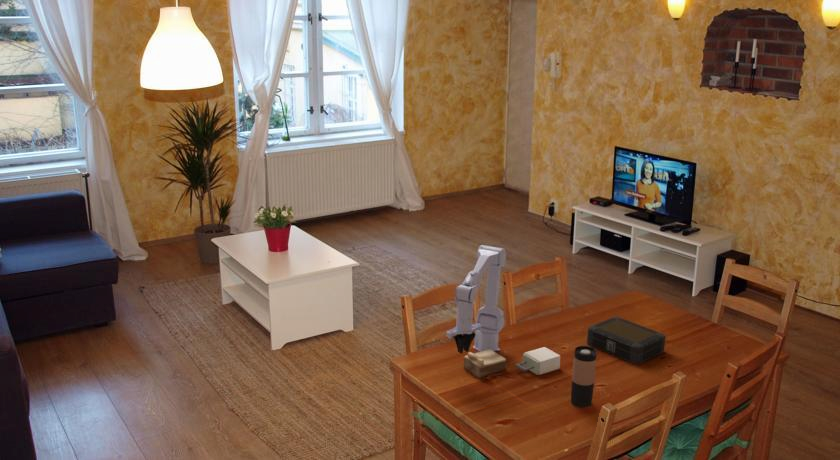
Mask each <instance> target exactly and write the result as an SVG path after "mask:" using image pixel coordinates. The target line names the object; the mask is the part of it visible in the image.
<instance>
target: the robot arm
mask: <svg viewBox="0 0 840 460" xmlns="http://www.w3.org/2000/svg"><path fill="white" fill-rule="evenodd" d="M476 255H477V256H476V258H477V261H476V263H475V266H474V268H473V270H470V271H469V272H468V273H467V275H466V276H465V279H464V280H463V282H462V283H461V284H460V285H457V286H456V288H455V290H454V299H455V305H456V321H455V322H456V326H455V327H453V328H451V329H450V330H447V331H446V332H445V336H446V337H447V338H448V339H452V337H453V340H454V342H455V345H456V348H457V352H458V353H460V354H463V353H464V352H467V353H469V352H470V351H469V350H470V347H471V346H472V342H473V340H474V345H473V346H472V348H473V349H475V350H477V352H481V351H485V350H488V349H490V350H492V351H494V352H496V351H497V352H498V351H500V350H501V349H500V348H499V333H500V332H501V331H502V330H503V328H504V324H505V318H504V311H502V310H501V308H499V306H498V302H499V291H500V279H501V271H502V268H505V266H506V263H507V251H506V249H505V248H504V247H498V246H490V245H484V244H481V245H480V246H478V249H477V252H476ZM486 270H487V279H486V287H485V288H486V289H485V298H484V301H485V302H484V306H482V307H480V308H479V309H478V310H477V315H476V320H475V323H474V324H473V316H474V315H473V314H474V313H473V312H474V302H475V300H476V297H477V293H478V289H479V287H480V286H481V283H482V281H483V274H484V273H485V271H486Z"/></svg>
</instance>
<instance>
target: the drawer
mask: <svg viewBox="0 0 840 460" xmlns="http://www.w3.org/2000/svg"><path fill="white" fill-rule="evenodd" d="M539 366H540V362H538V361H537V360H535V359H533V358H531V357H530V356H528V355H526V354H524V353H523V354H522V360H521V362H519V363H515V367H516V368H518V369H520V370H521V371H523V372H527V371H529V372H531V373H533V374H535V375H537V376H538V375H539Z"/></svg>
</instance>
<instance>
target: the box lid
mask: <svg viewBox="0 0 840 460" xmlns="http://www.w3.org/2000/svg"><path fill="white" fill-rule="evenodd" d="M464 358H466V359H467V360H469V361H470V362H472V363H473V364H475V365H476V366H478V367H480V368H483V367H486V366H490V365H493V364H496V363H500V362H503V361H506V362H507V359H506V357H504V356H502V355H501V354H499V353H497V352H496V351H492V350H490V349H488V350H485V351H481V352H480V351H477V352H475V353H473V352H472V351H468V352H467V355H464ZM464 358H463V359H464Z"/></svg>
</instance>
